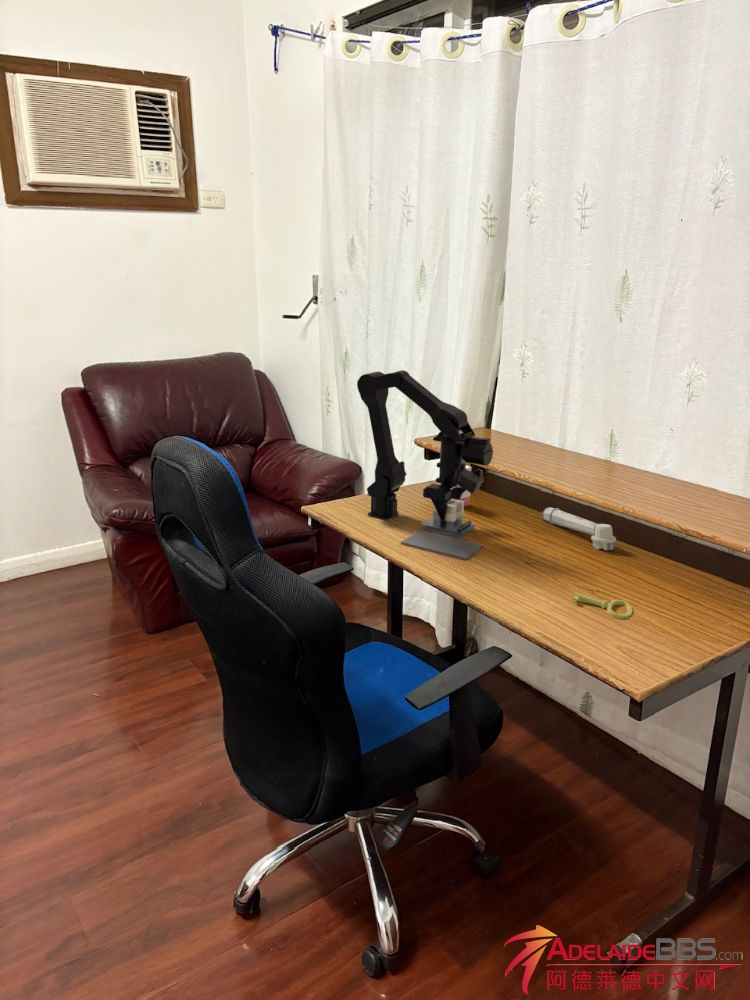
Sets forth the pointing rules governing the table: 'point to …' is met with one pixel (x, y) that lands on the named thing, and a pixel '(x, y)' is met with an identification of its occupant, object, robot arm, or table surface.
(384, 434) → the robot arm
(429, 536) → the charcoal mat
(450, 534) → the vise
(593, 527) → the grey pipe fitting
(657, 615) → the table surface
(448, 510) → the collar
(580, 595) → the key
